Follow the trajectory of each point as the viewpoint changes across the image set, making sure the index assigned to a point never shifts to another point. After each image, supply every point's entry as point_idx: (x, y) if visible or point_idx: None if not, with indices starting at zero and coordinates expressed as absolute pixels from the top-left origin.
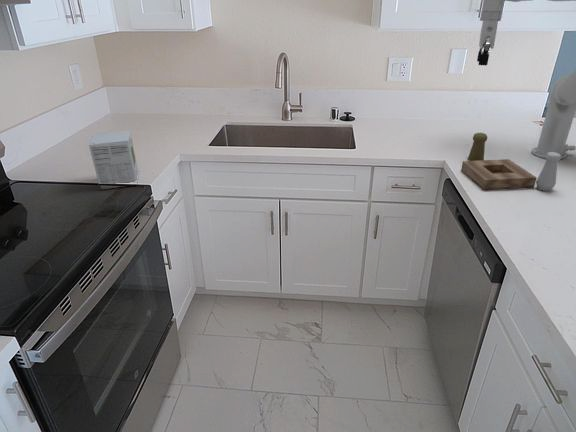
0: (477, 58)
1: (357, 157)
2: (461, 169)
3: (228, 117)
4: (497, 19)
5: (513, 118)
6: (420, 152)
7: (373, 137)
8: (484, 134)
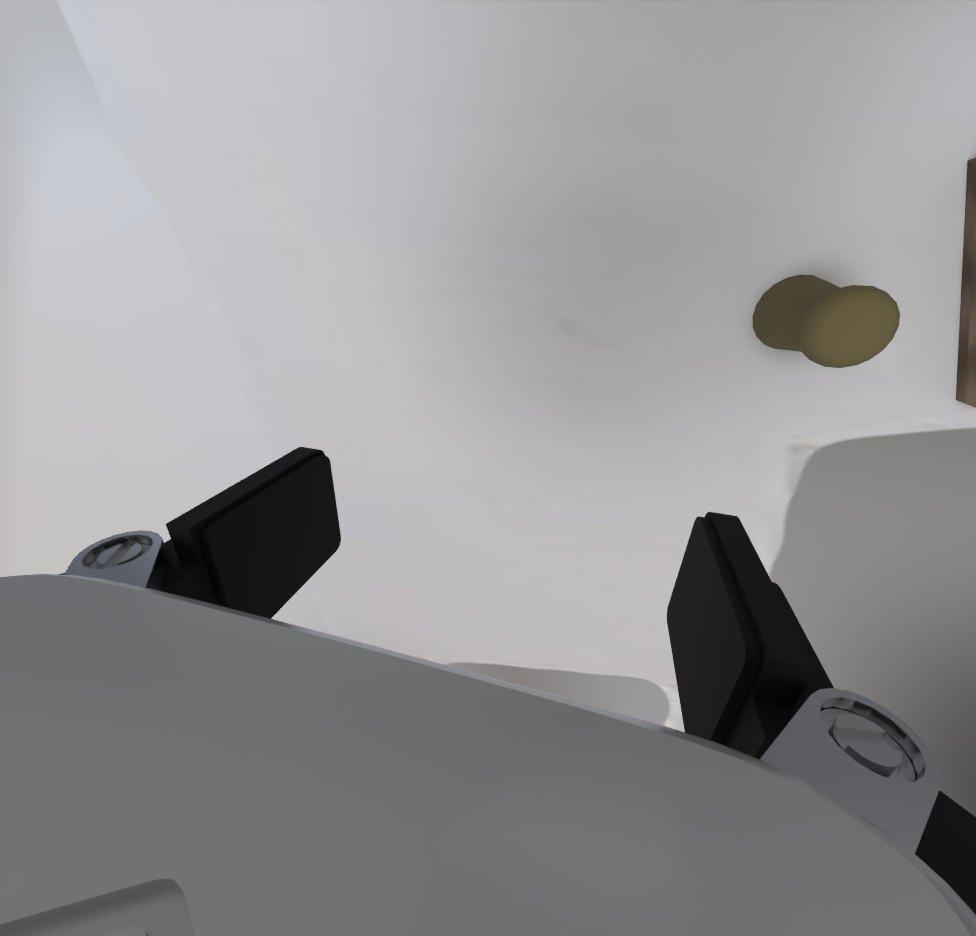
0: (312, 569)
1: None
2: (965, 401)
3: None
4: None
5: (70, 20)
6: (687, 519)
7: (530, 630)
8: (877, 310)
